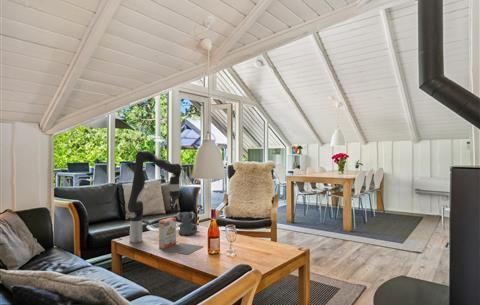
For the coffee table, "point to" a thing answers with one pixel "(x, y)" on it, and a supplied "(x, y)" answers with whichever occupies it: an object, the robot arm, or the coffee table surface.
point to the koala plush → (186, 223)
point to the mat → (183, 248)
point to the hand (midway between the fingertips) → (174, 211)
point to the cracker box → (167, 233)
